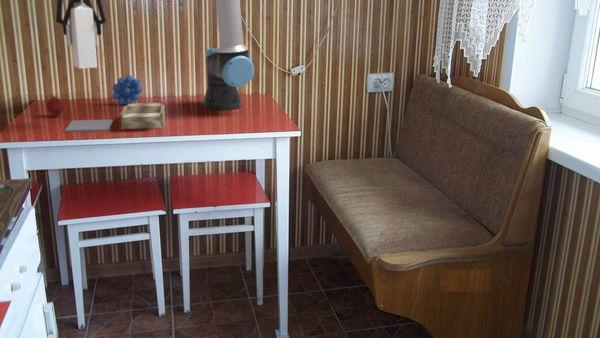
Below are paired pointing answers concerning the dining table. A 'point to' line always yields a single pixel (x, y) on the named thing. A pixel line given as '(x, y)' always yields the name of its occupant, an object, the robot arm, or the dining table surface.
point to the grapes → (126, 90)
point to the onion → (55, 106)
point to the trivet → (89, 125)
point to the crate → (143, 116)
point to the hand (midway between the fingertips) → (83, 45)
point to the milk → (82, 36)
